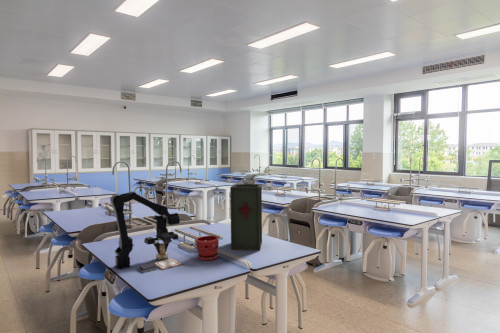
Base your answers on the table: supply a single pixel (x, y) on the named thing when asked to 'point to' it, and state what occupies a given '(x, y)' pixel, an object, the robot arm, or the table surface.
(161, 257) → the stamp
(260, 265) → the table surface
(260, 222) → the first aid box
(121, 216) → the robot arm
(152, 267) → the dark grey flat block
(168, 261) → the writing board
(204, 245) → the plant pot
